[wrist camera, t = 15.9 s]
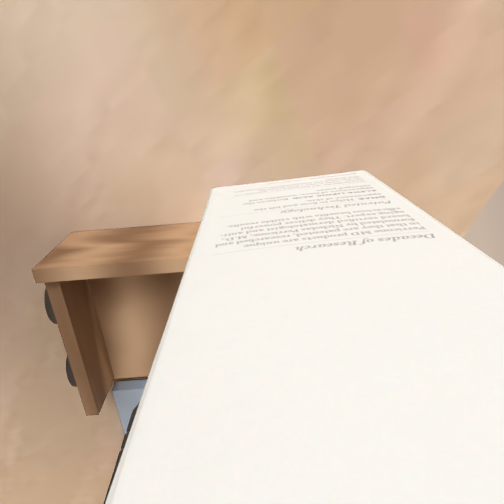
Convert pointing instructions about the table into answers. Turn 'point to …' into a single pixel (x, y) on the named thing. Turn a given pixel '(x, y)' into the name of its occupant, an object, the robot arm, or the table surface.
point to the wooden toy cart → (113, 300)
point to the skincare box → (324, 357)
